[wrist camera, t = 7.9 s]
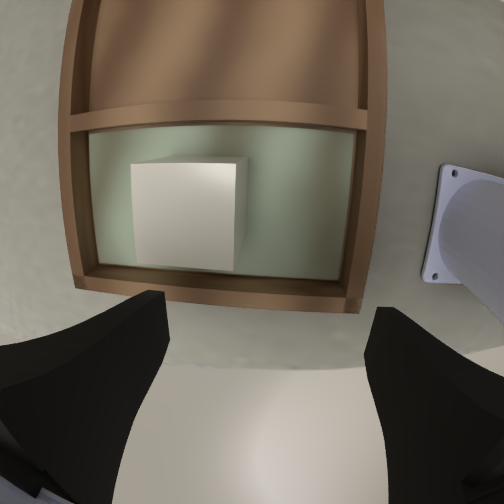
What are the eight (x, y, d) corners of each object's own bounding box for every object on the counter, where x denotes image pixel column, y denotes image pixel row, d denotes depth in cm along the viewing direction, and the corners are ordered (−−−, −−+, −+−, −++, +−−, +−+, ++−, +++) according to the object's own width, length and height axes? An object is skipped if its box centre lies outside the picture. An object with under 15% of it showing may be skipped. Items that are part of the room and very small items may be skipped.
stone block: (248, 156, 16) (236, 163, 11) (245, 235, 17) (233, 271, 13) (170, 155, 16) (130, 164, 12) (171, 230, 18) (136, 262, 13)
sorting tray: (365, -21, 12) (377, -42, 9) (349, 289, 19) (359, 313, 17) (99, -7, 13) (77, -20, 10) (96, 270, 21) (75, 288, 18)
